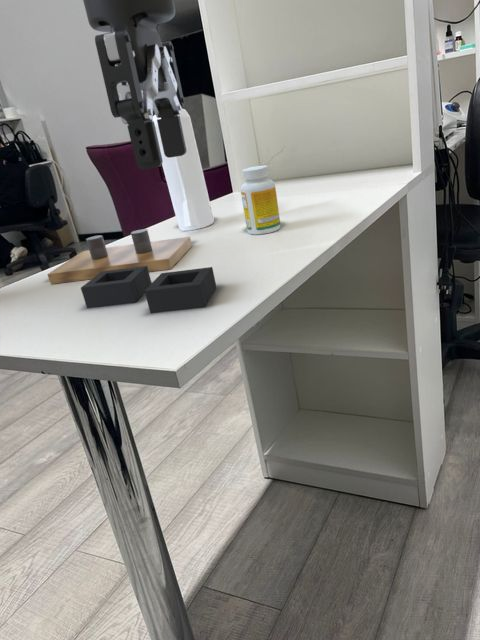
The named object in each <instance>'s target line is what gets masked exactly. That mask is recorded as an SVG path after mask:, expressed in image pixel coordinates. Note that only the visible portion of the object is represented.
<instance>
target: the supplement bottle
mask: <svg viewBox="0 0 480 640" xmlns="http://www.w3.org/2000/svg"><path fill="white" fill-rule="evenodd" d="M241 173H242V179H243V180H244V181H245V182H244V183H243V184H241V187H240V196H241V202H242V207H243V213H244V219H245V226H246V230H247V233H248V234H250V235H255V236H256V235H265V234H270V233H275V232H277V231H278V230H280V228H281V219H280V218H281V217H280V211H279V203H278V197H277V196H278V195H277V190H276V184H275V181H274V180H273V179H271V178H269V175H270V171H269V166H268V165H255V166H250V167H246V168H243V169H242V170H241Z"/></svg>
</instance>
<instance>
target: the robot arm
mask: <svg viewBox="0 0 480 640" xmlns="http://www.w3.org/2000/svg"><path fill="white" fill-rule="evenodd" d="M82 2H83V5H84V9H85V13H86V17H87V21H88V24H89V26H90V28H91V29H93V30H94V31H97V32H103V33H102V34H97V35H95V36H94V43H95V48H96V52H97V56H98V61H99V65H100V70H101V74H102V78H103V82H104V86H105V91H106V95H107V100H108V105H109V107H110V113H111V115H112V116H113V118H115V119H116V118H120V120H121V122H122V123H123V125H127V131H128V136H129V139H130V142H131V147H132V151H133V155H134V159H135V163H136V167H137V168H138V169H140V170H142V171H143V170H149V169H155V168H159V167H161V166H162V162H163V160H162V156H161V151H160V147H159V142H158V137H157V133H156V128H155V124H154V121H152V120H153V116H154V115H156V117H157V118H161V119H157V123H158V127H159V132H160V136H161V141H162V145H163V150H164V154H165V156H166V157H168V158H170V157H177V156H182V155H184V154H185V153H186V151H187V150H186V145H185V140H184V135H183V130H182V125H181V120H180V116H178V115H180V114H181V110H182V109H183V108H184V107H185V101H186V100H185V97H184V93H183V88H182V84H181V80H180V75H179V70H178V66H177V65H178V64H177V60H176V57H175V56H176V55H175V51H174V50H175V49H174V45H173V43H172V41H171V40H167V41H162V39H161V36H160V33H159V31H158V29H159V28H158V27H159V25H160V24H165V23H167V22H169V21H171V20H172V19H173V18H175V15H176V6H175V2H174V0H82ZM165 82H167V83H165Z"/></svg>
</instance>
